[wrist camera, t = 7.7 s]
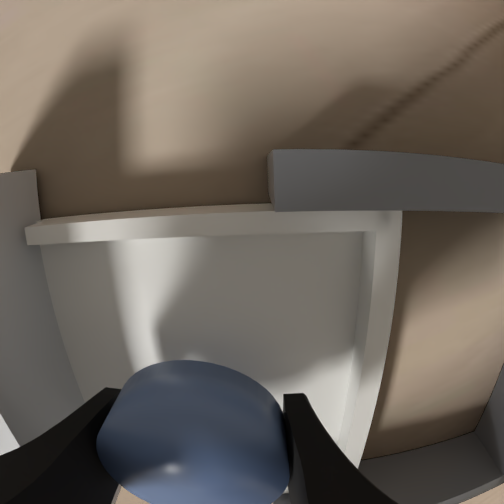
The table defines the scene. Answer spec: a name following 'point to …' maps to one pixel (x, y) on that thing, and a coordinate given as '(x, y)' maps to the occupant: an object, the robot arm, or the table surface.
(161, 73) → the table surface
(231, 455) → the disc
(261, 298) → the tray
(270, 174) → the grey storage bin
